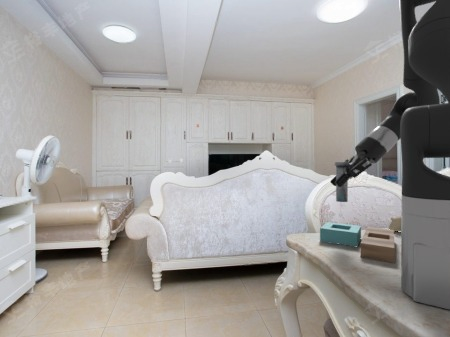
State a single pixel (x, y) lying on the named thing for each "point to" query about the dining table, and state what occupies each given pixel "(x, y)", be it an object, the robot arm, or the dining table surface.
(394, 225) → the decorative ornament
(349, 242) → the holder
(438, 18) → the robot arm
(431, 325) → the dining table surface
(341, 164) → the axle
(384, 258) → the beam
